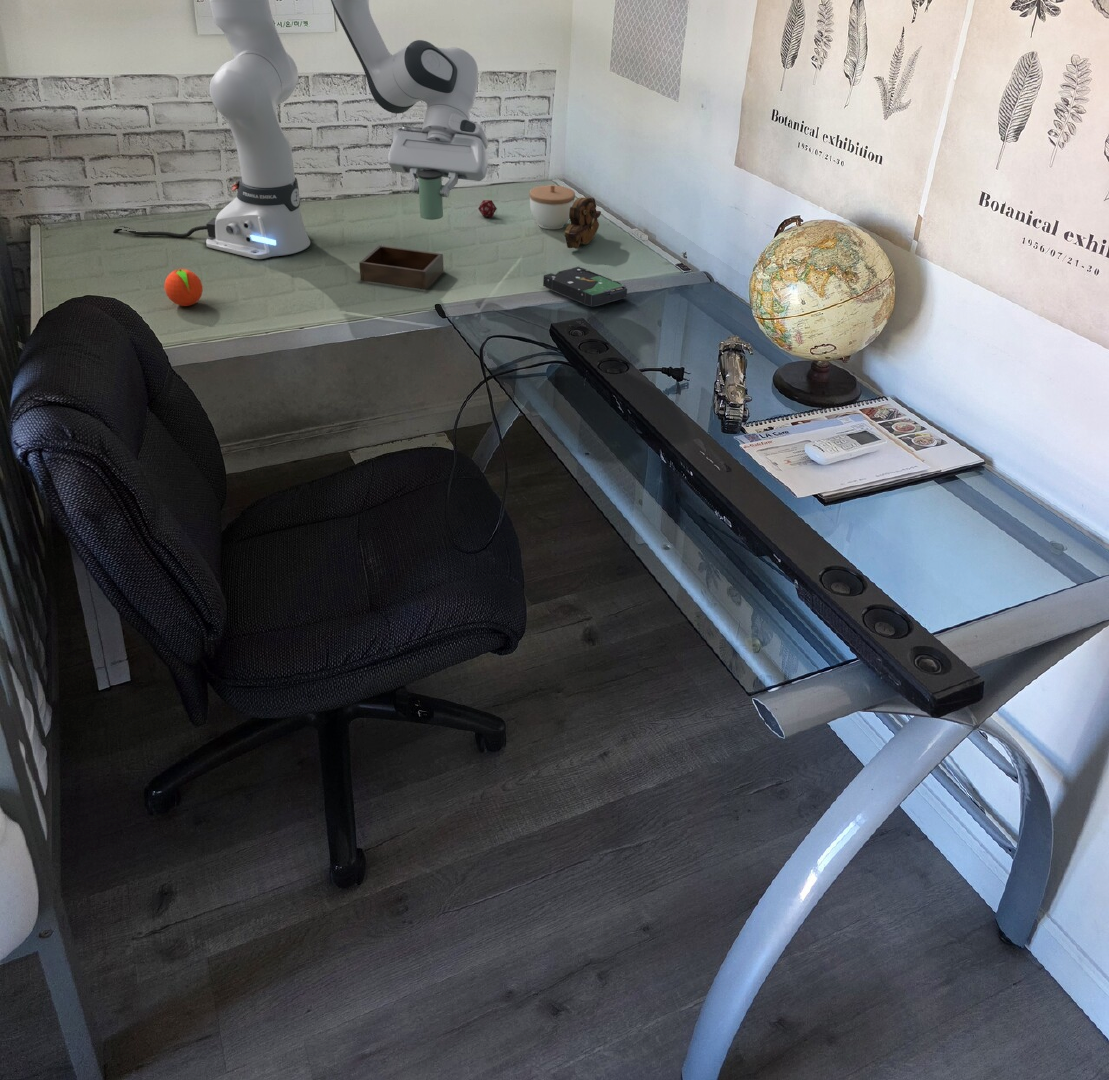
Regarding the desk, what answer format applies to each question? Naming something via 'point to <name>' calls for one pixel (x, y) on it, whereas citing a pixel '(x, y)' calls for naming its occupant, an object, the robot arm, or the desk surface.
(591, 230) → the wooden carving
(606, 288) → the disk drive
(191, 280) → the clementine
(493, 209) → the dice
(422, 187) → the cylinder
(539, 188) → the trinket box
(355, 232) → the desk surface
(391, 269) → the walnut box
